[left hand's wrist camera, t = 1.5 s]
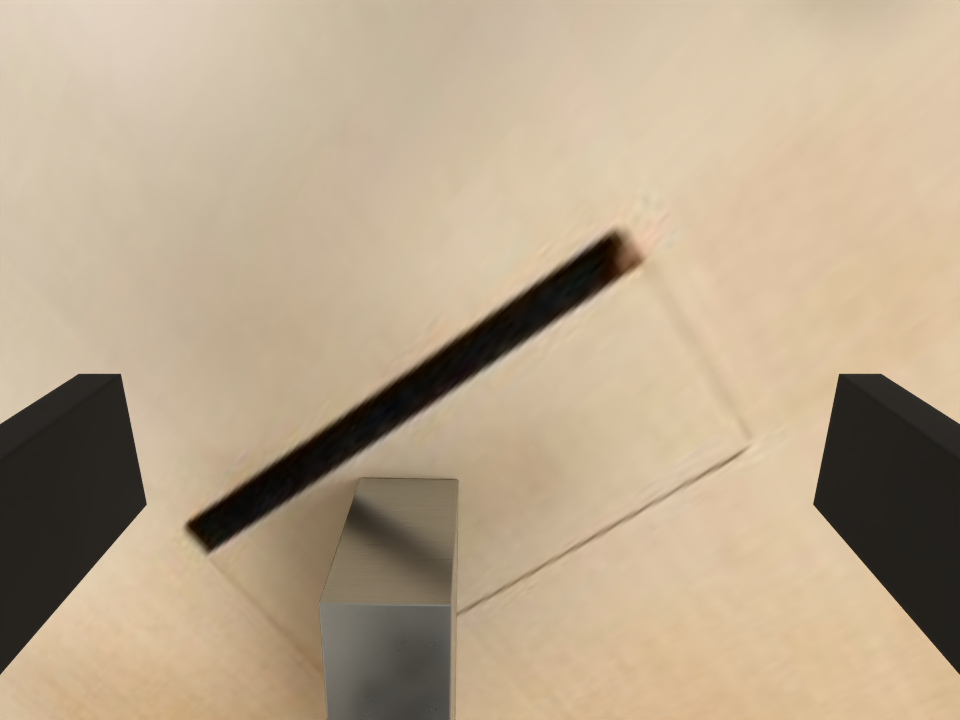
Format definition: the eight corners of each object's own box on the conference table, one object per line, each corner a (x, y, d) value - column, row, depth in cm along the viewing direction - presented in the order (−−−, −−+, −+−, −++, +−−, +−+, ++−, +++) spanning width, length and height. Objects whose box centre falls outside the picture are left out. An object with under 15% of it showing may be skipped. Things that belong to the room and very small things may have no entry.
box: (359, 477, 40) (318, 603, 30) (458, 479, 40) (451, 605, 30) (371, 738, 48) (340, 915, 37) (454, 739, 48) (448, 916, 37)
